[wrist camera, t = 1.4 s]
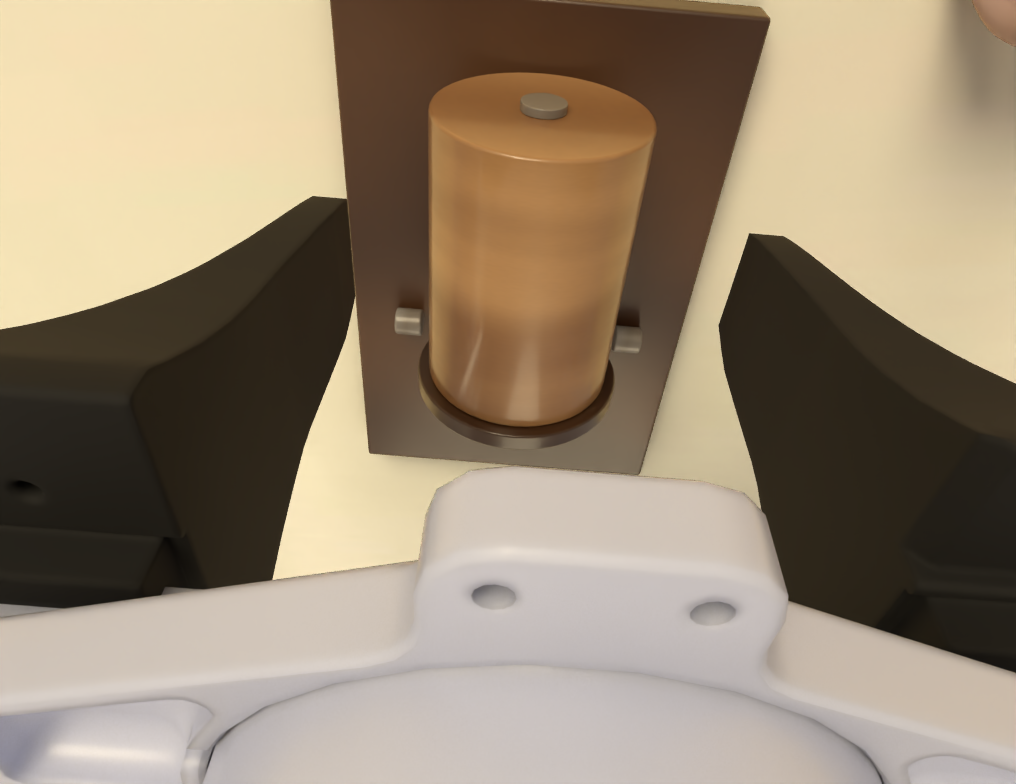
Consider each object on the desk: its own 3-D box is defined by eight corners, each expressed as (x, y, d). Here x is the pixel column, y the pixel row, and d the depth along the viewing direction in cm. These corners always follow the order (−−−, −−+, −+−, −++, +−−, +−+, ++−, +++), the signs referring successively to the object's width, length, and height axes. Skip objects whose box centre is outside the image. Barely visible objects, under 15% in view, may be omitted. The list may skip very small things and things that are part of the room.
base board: (637, 456, 27) (642, 492, 26) (373, 435, 27) (364, 470, 26) (762, 6, 17) (781, 28, 16) (336, -33, 17) (318, -13, 15)
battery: (618, 458, 18) (692, 168, 13) (404, 441, 18) (393, 143, 13) (606, 330, 22) (658, 68, 17) (430, 315, 22) (430, 49, 17)
